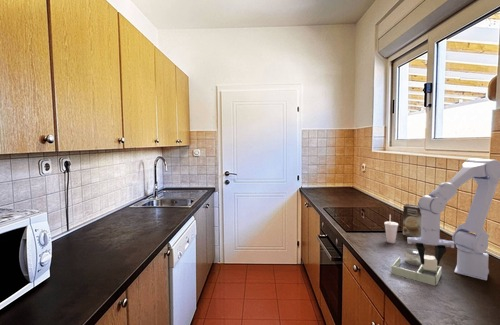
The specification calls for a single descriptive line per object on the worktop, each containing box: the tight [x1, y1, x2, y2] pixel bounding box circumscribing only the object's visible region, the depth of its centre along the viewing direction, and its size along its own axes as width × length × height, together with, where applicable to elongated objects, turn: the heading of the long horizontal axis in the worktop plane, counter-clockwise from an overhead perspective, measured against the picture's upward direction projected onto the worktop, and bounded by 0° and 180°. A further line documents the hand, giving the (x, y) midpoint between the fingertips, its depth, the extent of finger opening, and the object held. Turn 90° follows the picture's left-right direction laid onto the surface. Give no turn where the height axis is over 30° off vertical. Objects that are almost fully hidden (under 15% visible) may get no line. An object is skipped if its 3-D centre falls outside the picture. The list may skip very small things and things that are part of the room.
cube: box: [422, 254, 437, 271], centre depth 102 cm, size 4×4×4 cm
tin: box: [405, 248, 422, 267], centre depth 114 cm, size 7×7×5 cm
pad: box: [422, 270, 437, 277], centre depth 102 cm, size 5×10×1 cm, turn 137°
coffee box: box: [402, 203, 422, 237], centre depth 147 cm, size 9×6×16 cm
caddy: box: [390, 256, 442, 287], centre depth 105 cm, size 14×11×3 cm
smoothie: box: [383, 214, 399, 244], centre depth 138 cm, size 6×6×14 cm
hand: (429, 263), depth 102 cm, fingers closed on cube, 4 cm apart
